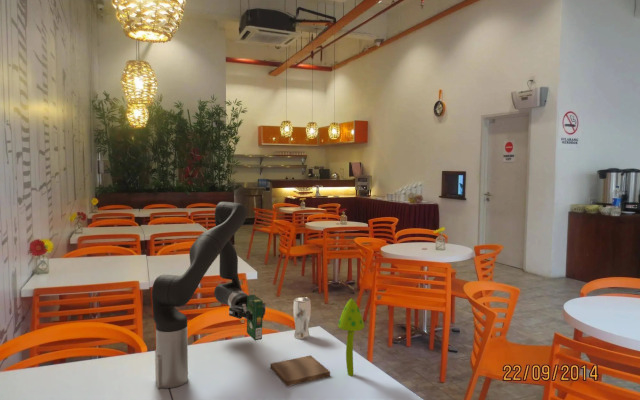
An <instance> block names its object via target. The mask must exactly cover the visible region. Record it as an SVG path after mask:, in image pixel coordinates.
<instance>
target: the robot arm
mask: <svg viewBox="0 0 640 400" xmlns="http://www.w3.org/2000/svg"><path fill="white" fill-rule="evenodd" d="M247 214H248V210H247V207H246V206H245V205H244V204H242V203H239V202H238V203H237V202H231V201H220V202H218V203H217V204H216V206H215V210H214V221H215V226H213V227H211V228H210V229H208V230H206V231H204V232H202V233H201V234H200V235H199V236H198V237H197V238H196V240H195V241H194V242H193V243H192V245H191V246H190V249H189V262H190V264H189V265H190V266H189V267H188V268H187V269H186V270H185V272H184V273H183V274H182V275H181V274H180V275H173V274H161V275H159V276H157V277H156V279H155V280H154V282H153V285H152V288H151V303H152V304H151V305H152V316H153V322H154V323H155V347H156V348H155V352H154V356H155V357H154V362H155V366H154V367H155V382H156V383H155V384H156V386H157V389H161V388H162V389H163V388H164V389H165V388H167V389H169V388H171V389H172V388H177V387H181V386H182V385H184V384H186V383H187V382H188V380H189V368H188V367H189V366H188V365H189V362H188V361H189V355H188V354H189V353H188V351H189V349H188V347H189V345H188V342H189V341H188V339H189V338H188V317H187V316H186V314H184V313H183V312H181V311H180V310H178V309H177V307H178V308H179V307H180V308H181V307H184V306H186V305H187V304H188V303H189V302H190V301H191V300H192V298H193V296H194V294H195V293H196V290H197V288H198V287H199V285H200V284H201V281H202V279H203V278H204V276H205V275H206V273H207V272H208V270H209V269H210V267H211V266H212V264H213V263H214V262H215V261H216V259H217V258H218V257H219V276H220V277H221V278H222V279H225V280H230V281H231V282H225V283H218V285H216V287H215V288H214V290H213V291H214V292H213V293H214V294H213V295H214V297H215V299H216V301H217V302H218V303H220V304H222V305H227V306H229V308H228V316H229V317H234V318H236V319H242V318H243V319H246V321H247V320H249V321H252V314H251V313H250V312H249V311H248V310H247V296H248V295H249V294H247V293H246V292H244V291H243V290H242V289H243V288H242V286H241V283H240V280H239V272H238V271H239V270H238V269H239V265H238V264H239V260H238V259H239V258H238V253H237V251H236V249H235V246H234V244H233V243H232V241H231V238H232V237H233V236H234V235H235V234H236V233H237V232H238V230H239V229H241V227H242V226H243V225H244V223H245V221H246V219H247V216H248V215H247ZM266 306H267V305H266V303H265V302H263V319H264V318H265V317H264V316H265V315H266V310H267V309H266Z"/></svg>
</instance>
